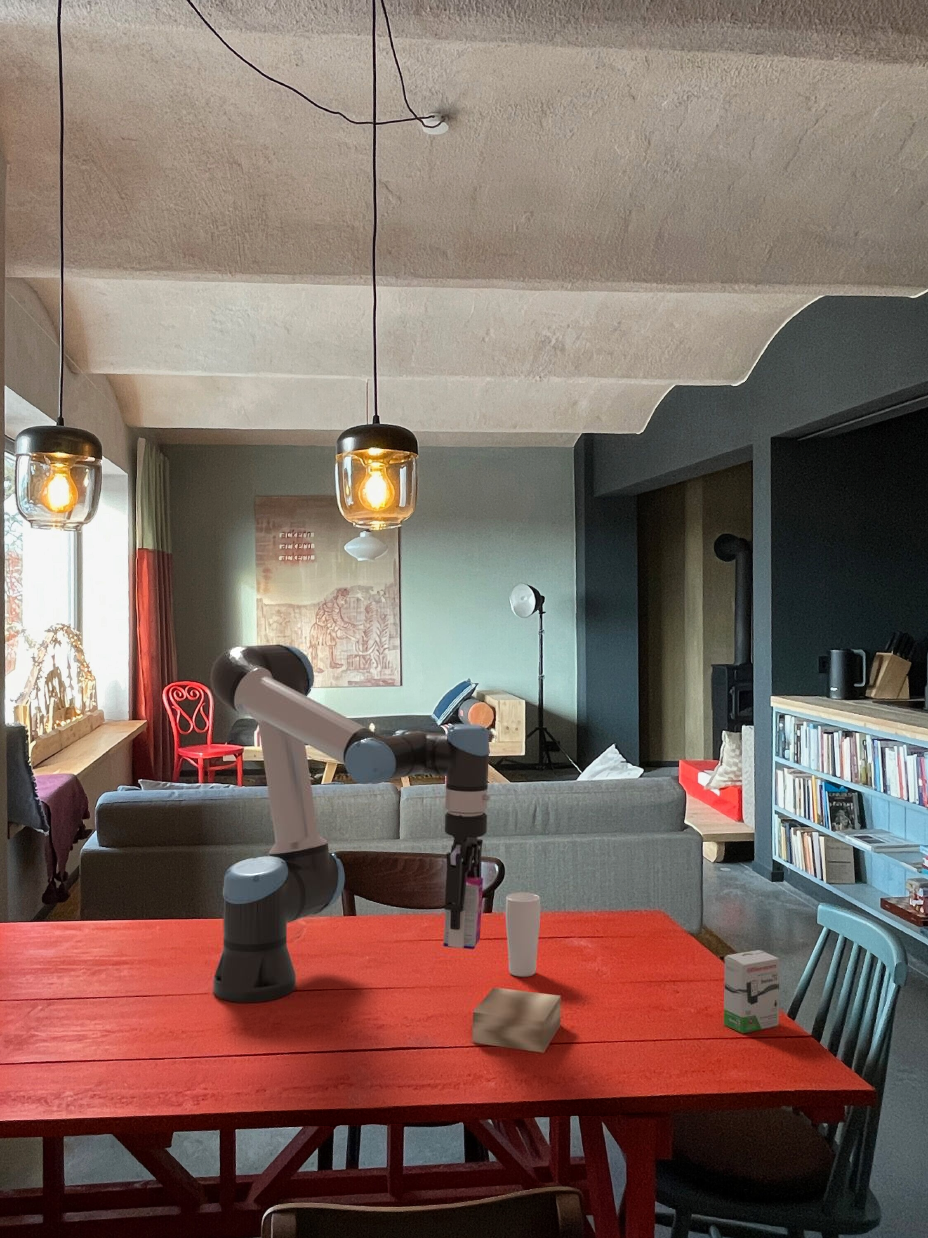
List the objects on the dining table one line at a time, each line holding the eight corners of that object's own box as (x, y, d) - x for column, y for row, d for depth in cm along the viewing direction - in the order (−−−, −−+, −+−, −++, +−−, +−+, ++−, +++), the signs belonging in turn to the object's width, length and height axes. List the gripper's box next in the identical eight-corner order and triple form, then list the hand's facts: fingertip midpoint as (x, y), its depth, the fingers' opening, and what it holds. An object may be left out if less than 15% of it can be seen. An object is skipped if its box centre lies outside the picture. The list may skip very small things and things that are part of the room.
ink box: (742, 1035, 174) (742, 964, 174) (722, 1024, 179) (722, 955, 179) (780, 1026, 178) (781, 956, 178) (760, 1016, 183) (760, 948, 183)
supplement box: (475, 950, 182) (477, 885, 182) (442, 947, 183) (444, 882, 183) (481, 939, 188) (483, 876, 188) (449, 936, 189) (451, 874, 189)
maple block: (472, 1042, 170) (472, 1012, 170) (493, 1016, 181) (493, 987, 181) (543, 1052, 166) (543, 1021, 166) (560, 1025, 178) (560, 996, 178)
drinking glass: (500, 976, 202) (500, 899, 202) (511, 965, 208) (512, 891, 208) (533, 981, 199) (534, 903, 199) (544, 970, 205) (544, 894, 205)
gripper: (469, 824, 175) (465, 960, 175) (501, 804, 193) (497, 928, 193) (427, 820, 177) (423, 954, 178) (463, 801, 195) (459, 923, 196)
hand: (462, 940), depth 186 cm, fingers closed on supplement box, 6 cm apart
